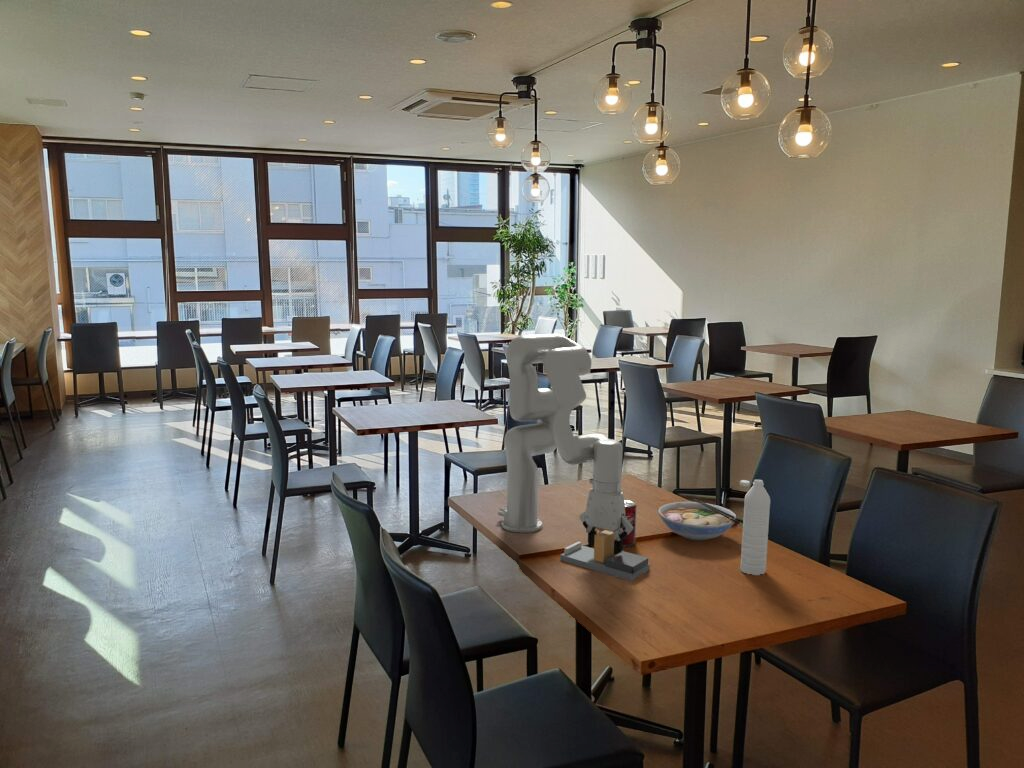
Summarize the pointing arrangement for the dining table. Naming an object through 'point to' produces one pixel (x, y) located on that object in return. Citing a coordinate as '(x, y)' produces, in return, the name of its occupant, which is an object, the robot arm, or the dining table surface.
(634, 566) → the grey flat-faced box
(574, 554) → the track
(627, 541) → the soda can
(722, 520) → the ramen bowl
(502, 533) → the dining table surface
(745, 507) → the water bottle
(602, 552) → the tall tan wooden block
